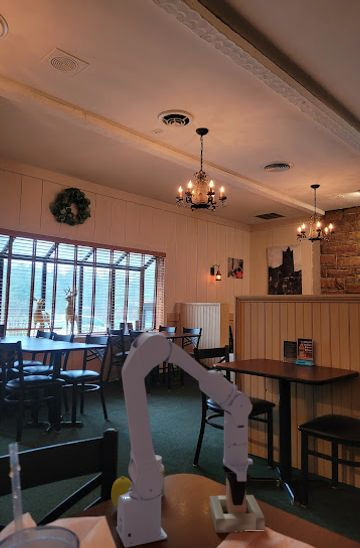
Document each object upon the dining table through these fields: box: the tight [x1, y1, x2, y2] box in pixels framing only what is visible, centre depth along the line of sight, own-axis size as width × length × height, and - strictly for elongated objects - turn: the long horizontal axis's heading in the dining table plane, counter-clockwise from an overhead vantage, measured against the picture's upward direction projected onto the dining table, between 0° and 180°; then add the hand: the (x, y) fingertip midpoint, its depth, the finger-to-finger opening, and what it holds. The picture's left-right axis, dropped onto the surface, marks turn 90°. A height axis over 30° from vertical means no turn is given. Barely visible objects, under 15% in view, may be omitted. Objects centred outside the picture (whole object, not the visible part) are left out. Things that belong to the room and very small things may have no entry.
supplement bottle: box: [155, 454, 165, 498], centre depth 110 cm, size 5×5×10 cm
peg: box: [225, 472, 247, 514], centre depth 98 cm, size 4×4×8 cm
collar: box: [209, 494, 266, 534], centre depth 98 cm, size 11×11×3 cm
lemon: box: [110, 475, 133, 509], centre depth 102 cm, size 6×6×8 cm
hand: (235, 499), depth 98 cm, fingers closed on peg, 4 cm apart
